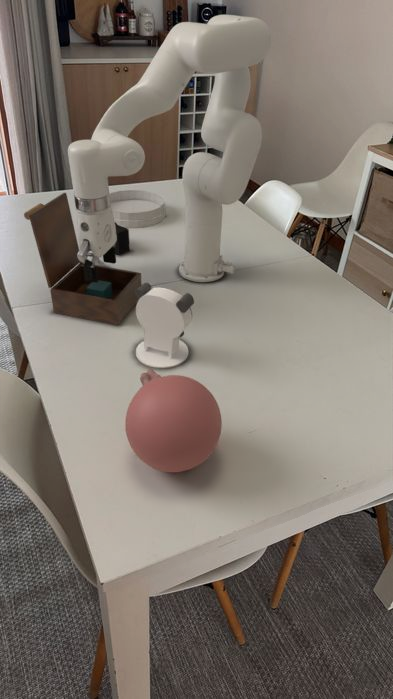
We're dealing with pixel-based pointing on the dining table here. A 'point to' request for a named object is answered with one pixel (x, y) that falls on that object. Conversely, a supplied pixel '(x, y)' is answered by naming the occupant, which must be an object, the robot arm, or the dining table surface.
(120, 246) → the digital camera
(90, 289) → the block
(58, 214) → the box lid
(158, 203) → the dish
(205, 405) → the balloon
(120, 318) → the box
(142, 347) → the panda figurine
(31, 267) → the dining table surface
